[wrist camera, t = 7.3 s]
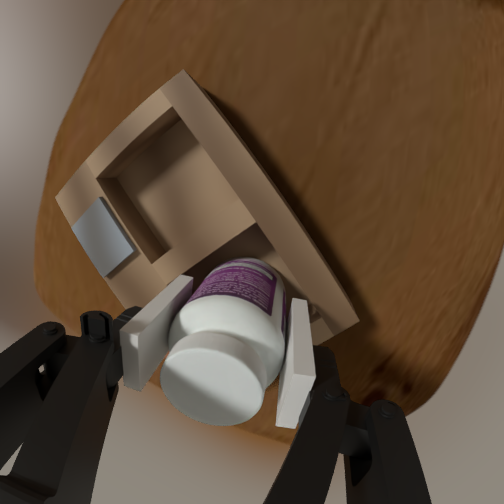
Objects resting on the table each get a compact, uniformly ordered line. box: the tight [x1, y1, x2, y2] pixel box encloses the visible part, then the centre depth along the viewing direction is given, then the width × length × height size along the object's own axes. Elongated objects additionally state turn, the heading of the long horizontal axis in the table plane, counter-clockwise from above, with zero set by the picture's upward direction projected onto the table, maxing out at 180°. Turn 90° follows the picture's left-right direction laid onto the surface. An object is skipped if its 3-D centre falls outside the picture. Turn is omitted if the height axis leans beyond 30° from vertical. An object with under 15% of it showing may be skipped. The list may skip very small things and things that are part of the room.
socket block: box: [55, 69, 360, 359], centre depth 18 cm, size 12×18×4 cm
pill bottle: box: [160, 257, 286, 426], centre depth 14 cm, size 5×5×10 cm
